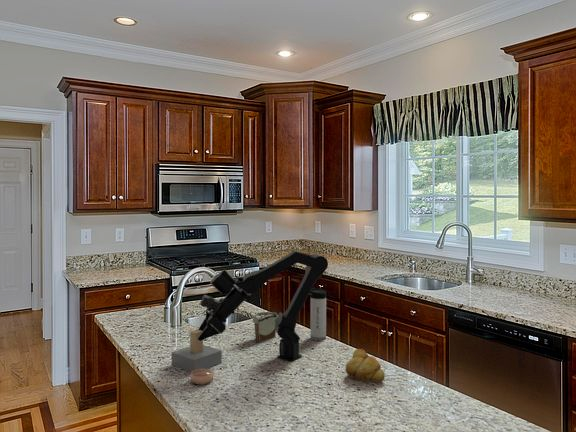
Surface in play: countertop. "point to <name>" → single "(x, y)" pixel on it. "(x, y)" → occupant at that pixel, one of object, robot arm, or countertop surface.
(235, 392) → the countertop surface
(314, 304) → the travel mug
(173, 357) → the cover
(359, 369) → the bread roll
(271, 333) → the food container
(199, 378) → the bowl
